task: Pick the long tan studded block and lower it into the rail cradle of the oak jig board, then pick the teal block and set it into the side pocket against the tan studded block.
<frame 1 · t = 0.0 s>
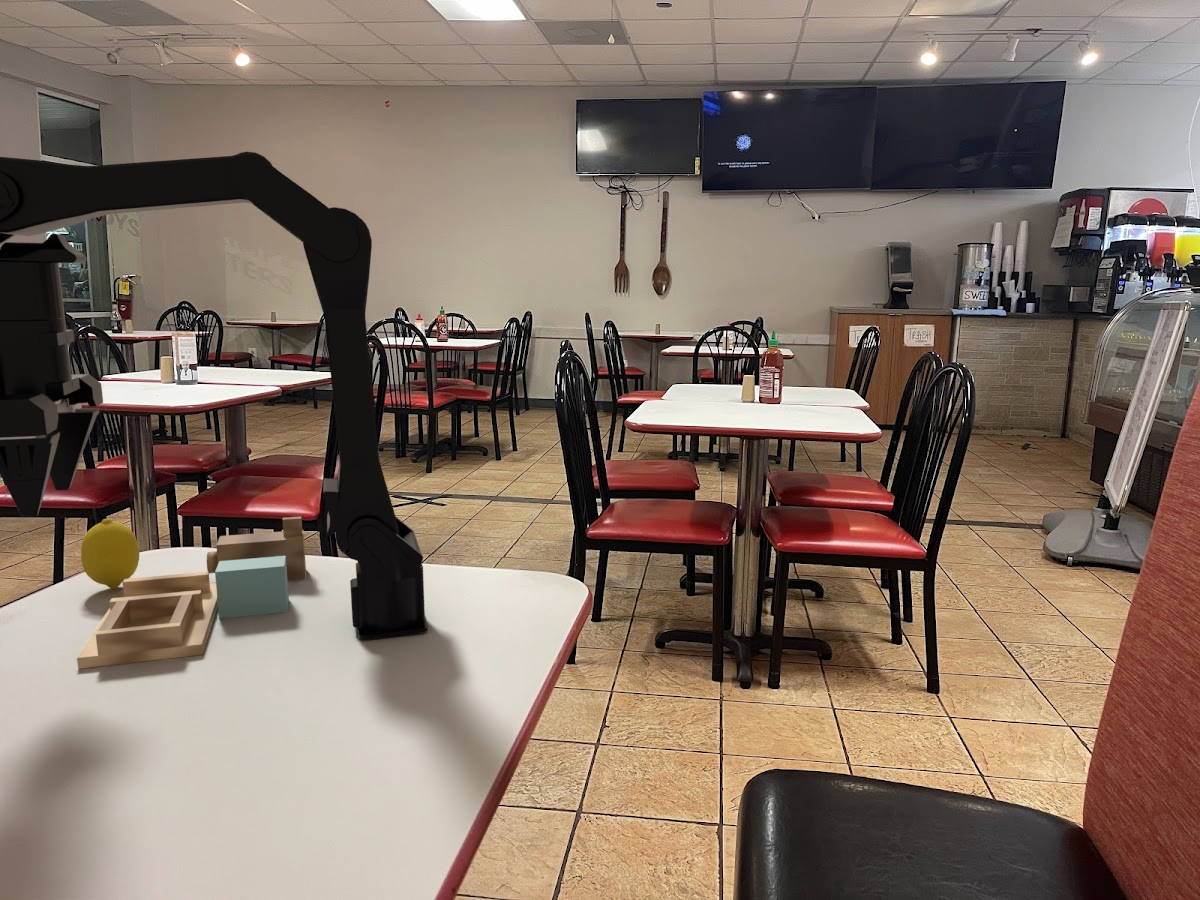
hand: (47, 502, 73), 15 cm above the table, fingers open, 9 cm apart
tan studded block: (264, 579, 98), on the table
lemon: (114, 590, 94), on the table
jig: (158, 625, 84), on the table
teal block: (254, 609, 89), on the table
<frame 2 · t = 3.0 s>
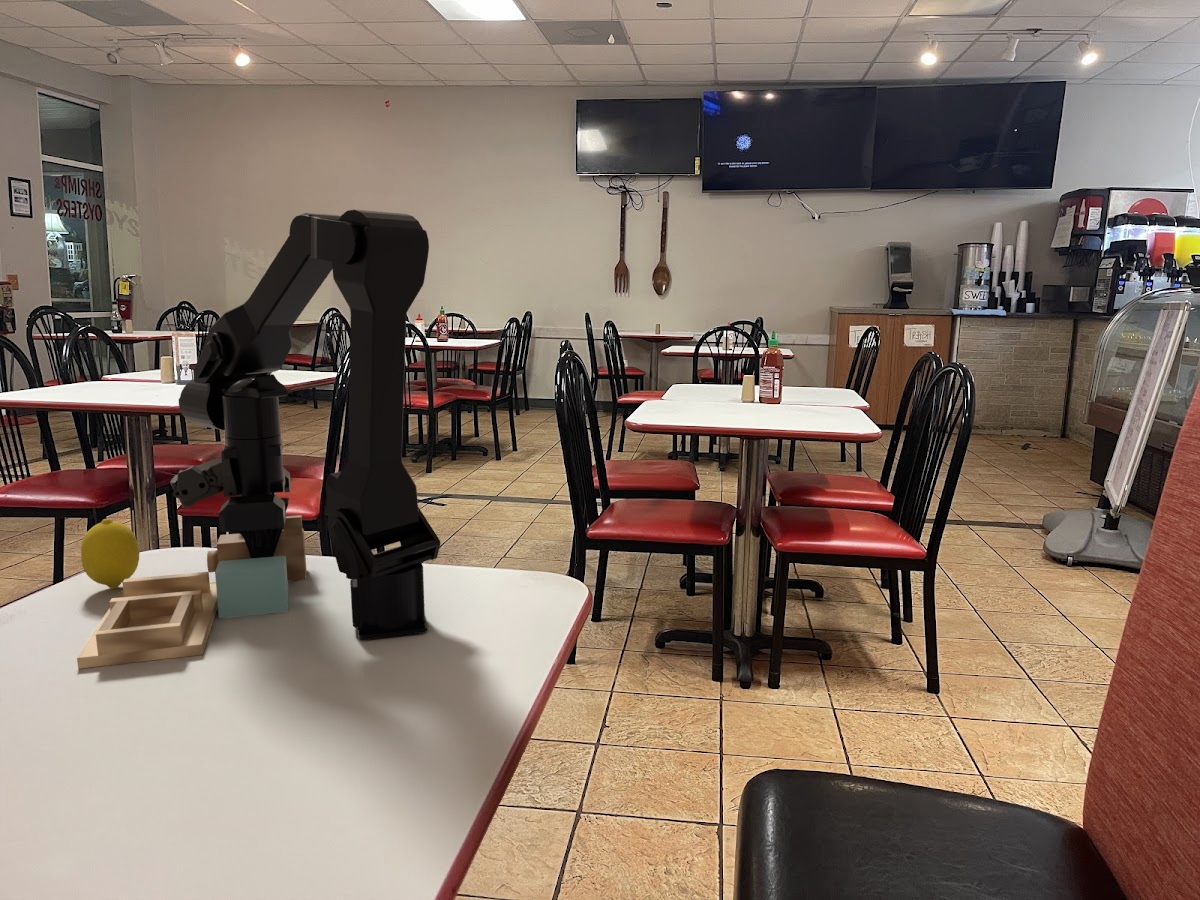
hand: (263, 569, 97), 1 cm above the table, fingers closed on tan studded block, 3 cm apart
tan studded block: (264, 577, 98), on the table, touching gripper
everything else where it was.
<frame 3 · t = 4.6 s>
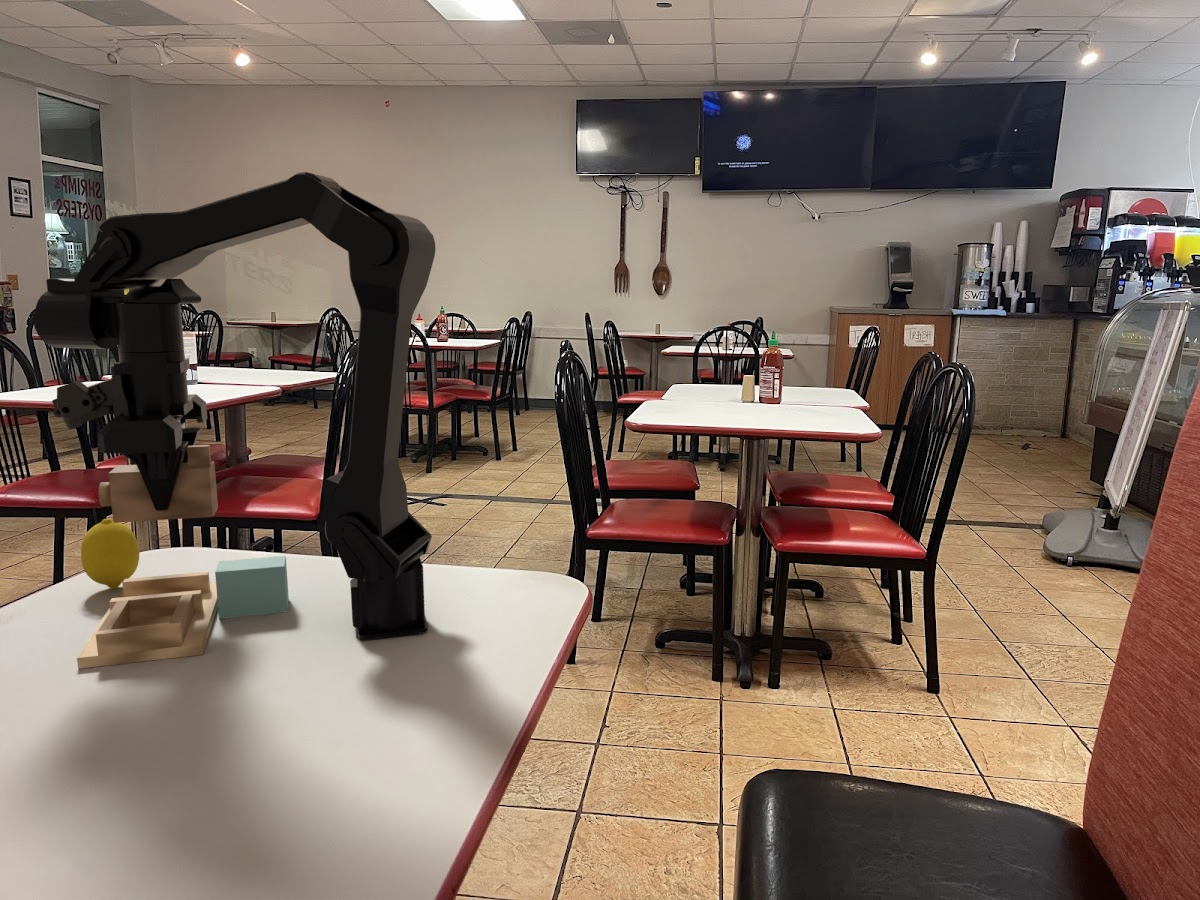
hand: (166, 505, 86), 11 cm above the table, fingers closed on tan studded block, 3 cm apart
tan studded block: (167, 515, 86), point 10 cm above the table, touching gripper
everything else where it was.
when the fingers open (3 cm above the table, at t = 6.4 s): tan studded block drops 1 cm, resting on jig.
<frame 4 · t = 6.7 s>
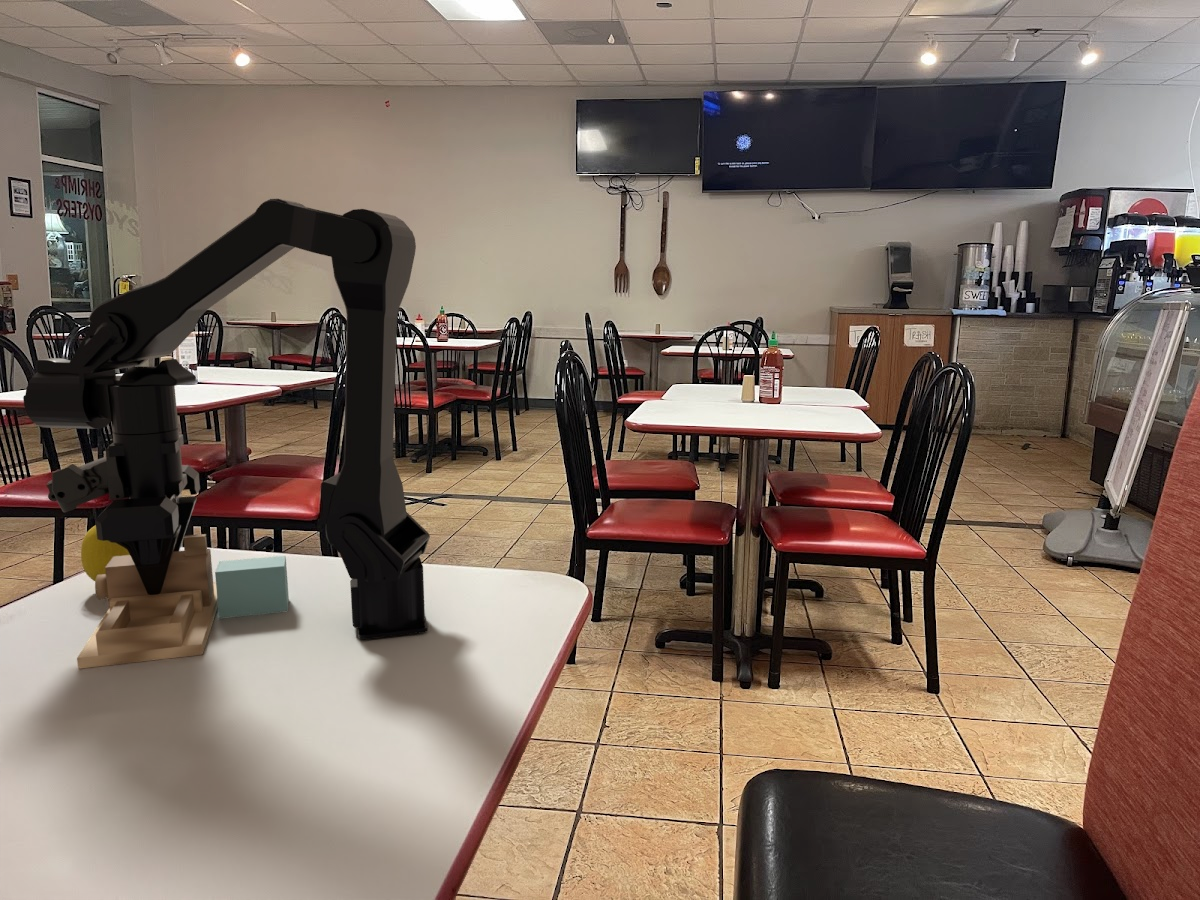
hand: (161, 581, 86), 3 cm above the table, fingers open, 7 cm apart
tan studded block: (164, 604, 87), point 1 cm above the table, touching jig
everything else where it was.
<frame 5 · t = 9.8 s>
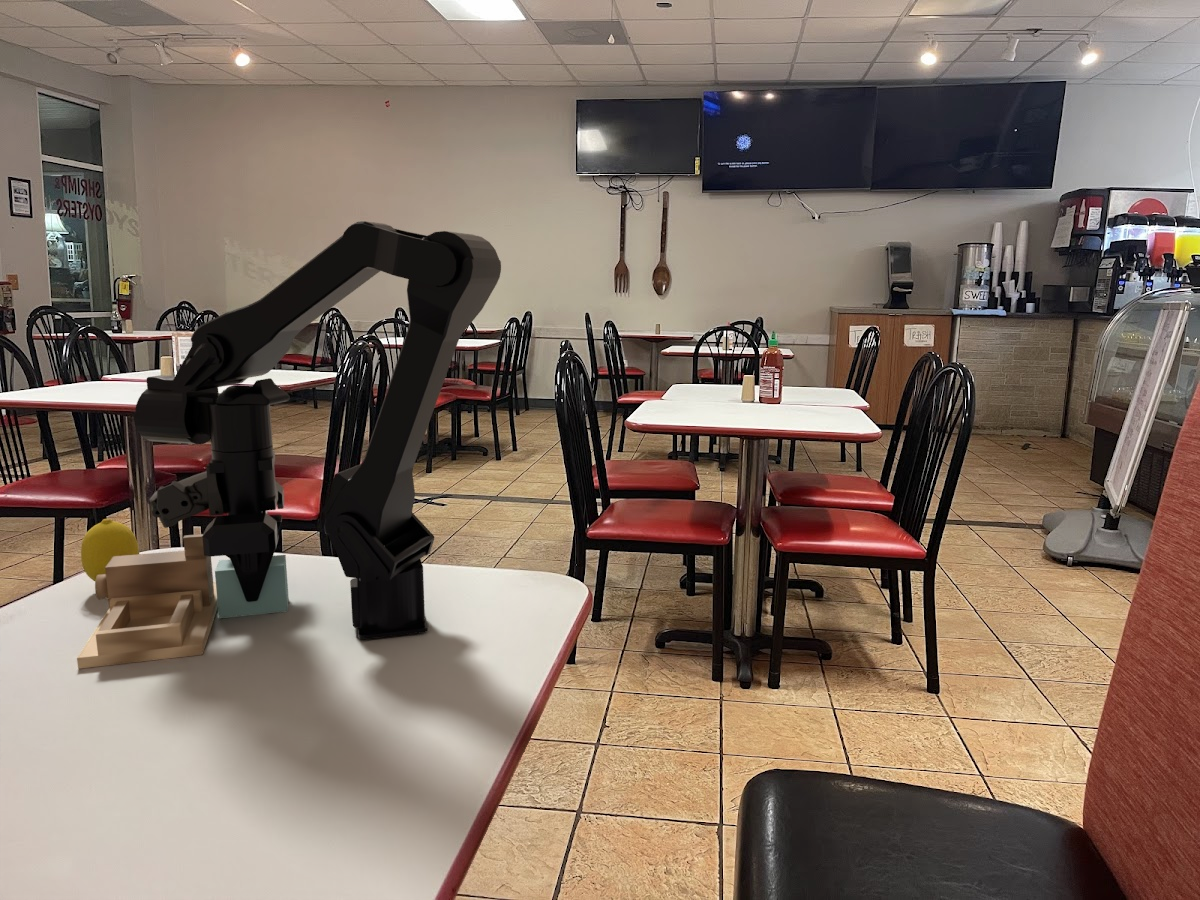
hand: (253, 594, 88), 2 cm above the table, fingers closed on teal block, 3 cm apart
teal block: (254, 608, 89), on the table, touching gripper
everything else where it was.
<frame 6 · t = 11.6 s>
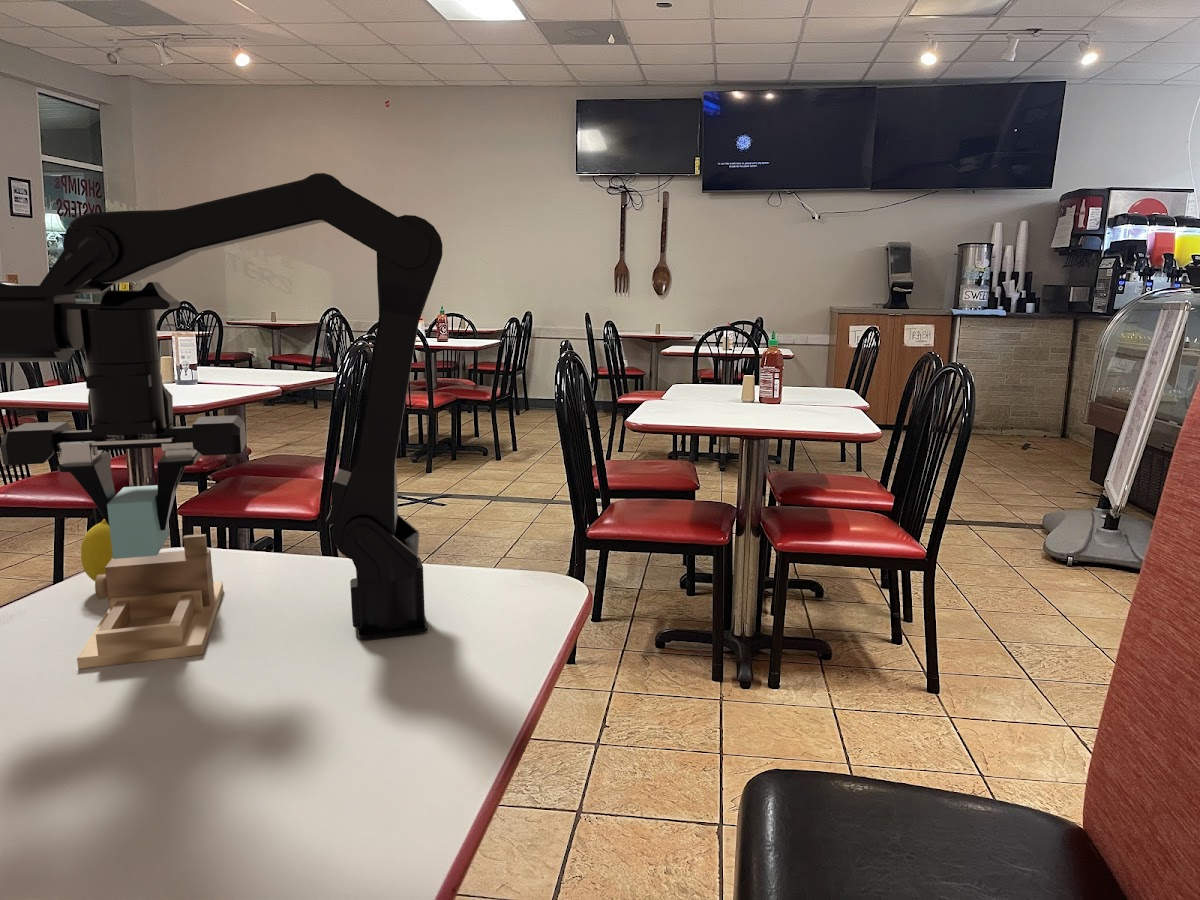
hand: (140, 530, 78), 11 cm above the table, fingers closed on teal block, 3 cm apart
teal block: (142, 546, 79), point 9 cm above the table, touching gripper
everything else where it was.
when the fingers open (3 cm above the table, at t = 13.1 s): teal block stays where it is, resting on jig.
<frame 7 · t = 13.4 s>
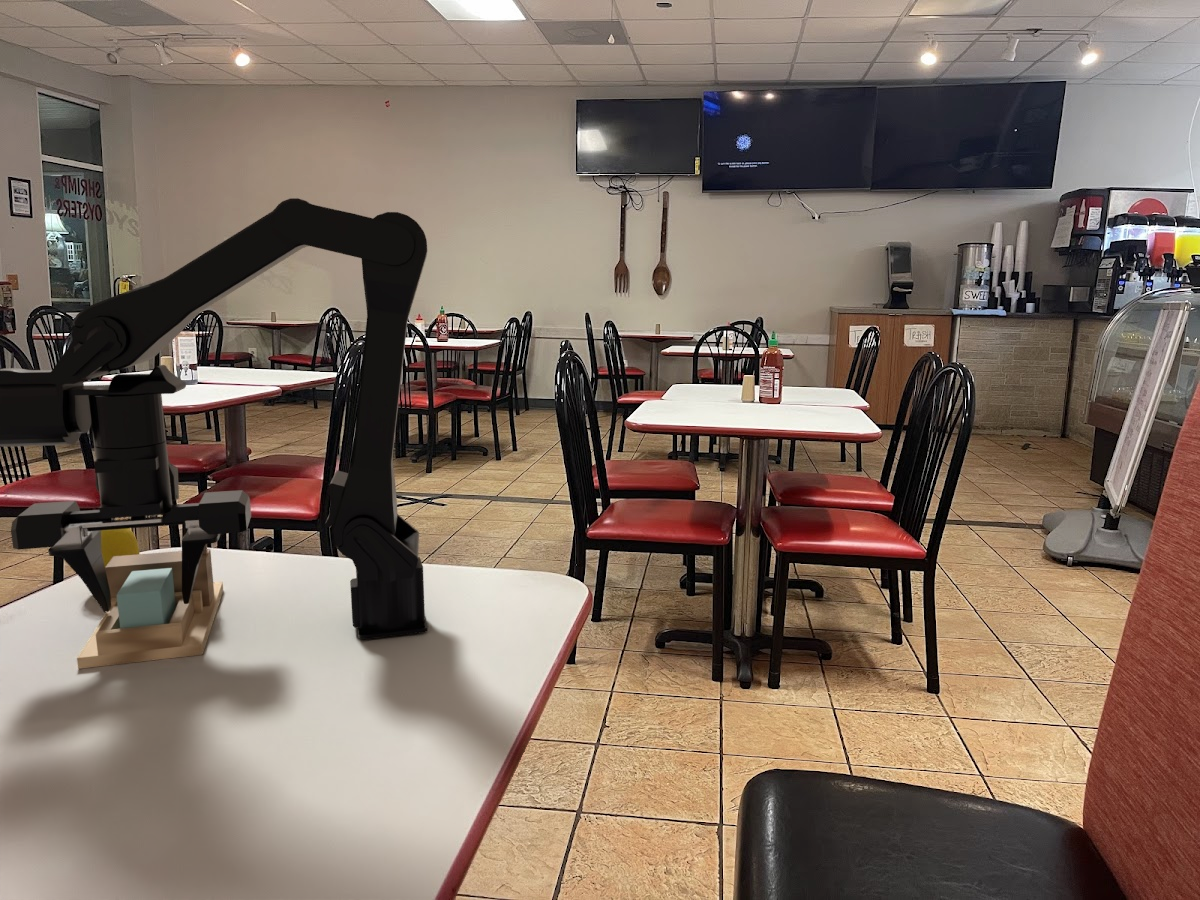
hand: (147, 606, 80), 3 cm above the table, fingers open, 6 cm apart
teal block: (150, 631, 80), point 1 cm above the table, touching jig
everything else where it was.
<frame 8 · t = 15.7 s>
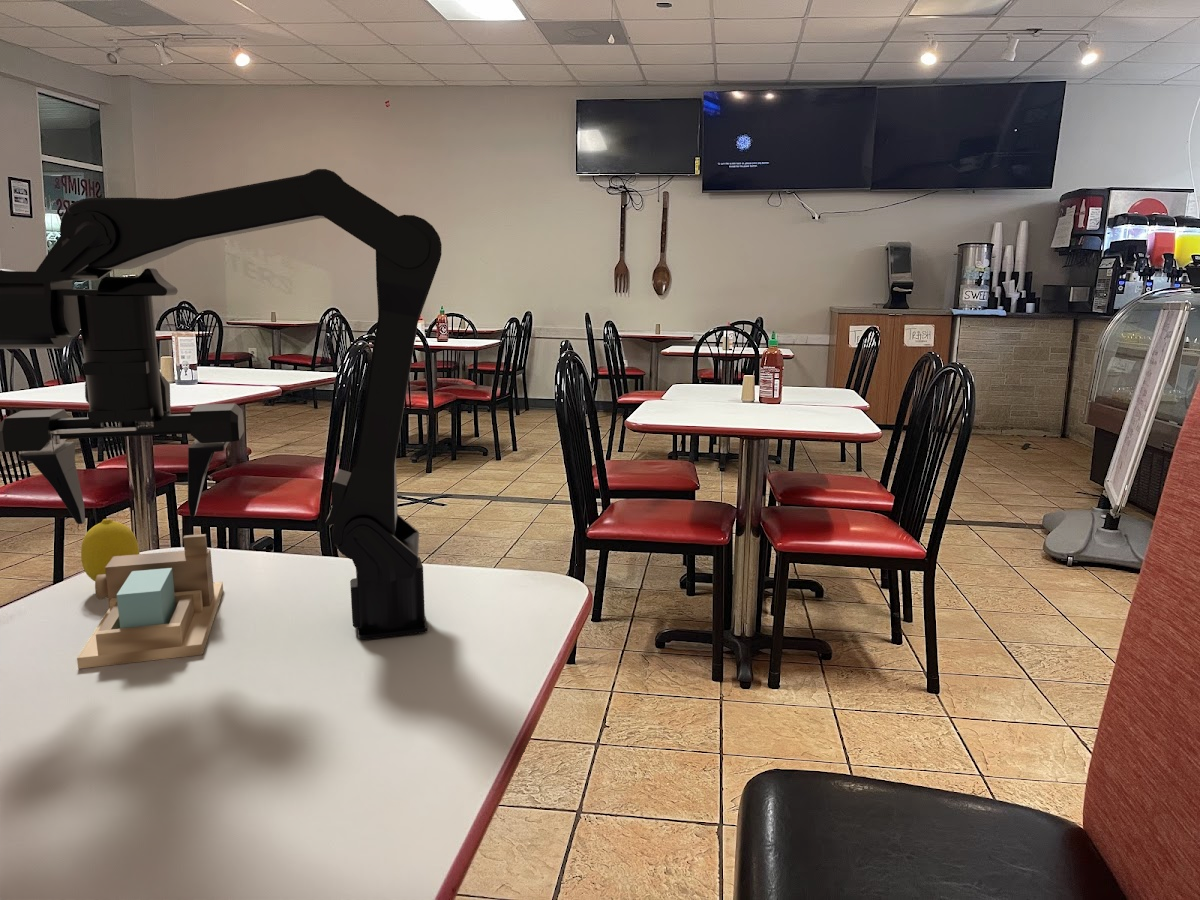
hand: (138, 519, 78), 12 cm above the table, fingers open, 9 cm apart
nothing on the table moved.
at the end: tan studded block 0.1 cm from the target spot on the jig, point 1.0 cm above the jig's base; teal block 0.2 cm from the target spot on the jig, point 1.0 cm above the jig's base; the gripper is holding nothing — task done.
